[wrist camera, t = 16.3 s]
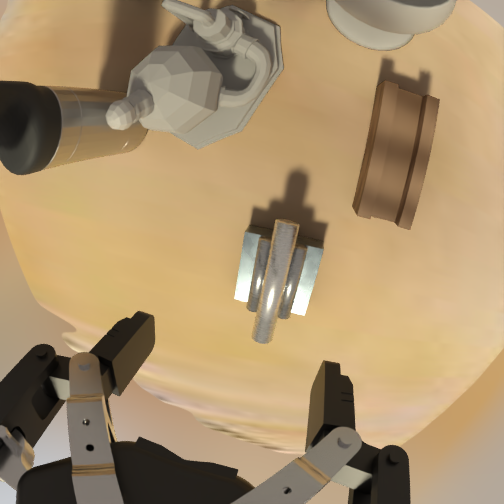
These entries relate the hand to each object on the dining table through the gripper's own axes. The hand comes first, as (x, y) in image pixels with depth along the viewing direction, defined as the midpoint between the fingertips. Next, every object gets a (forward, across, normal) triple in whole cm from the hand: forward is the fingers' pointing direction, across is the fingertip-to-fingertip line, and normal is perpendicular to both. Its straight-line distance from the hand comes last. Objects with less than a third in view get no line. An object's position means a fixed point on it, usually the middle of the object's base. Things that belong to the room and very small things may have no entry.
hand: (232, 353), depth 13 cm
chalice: (+28, -6, -29) cm, 41 cm away
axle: (+22, 0, +8) cm, 24 cm away
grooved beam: (+28, -12, -10) cm, 32 cm away
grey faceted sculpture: (+28, +13, -16) cm, 35 cm away
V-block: (+28, 0, +8) cm, 29 cm away
